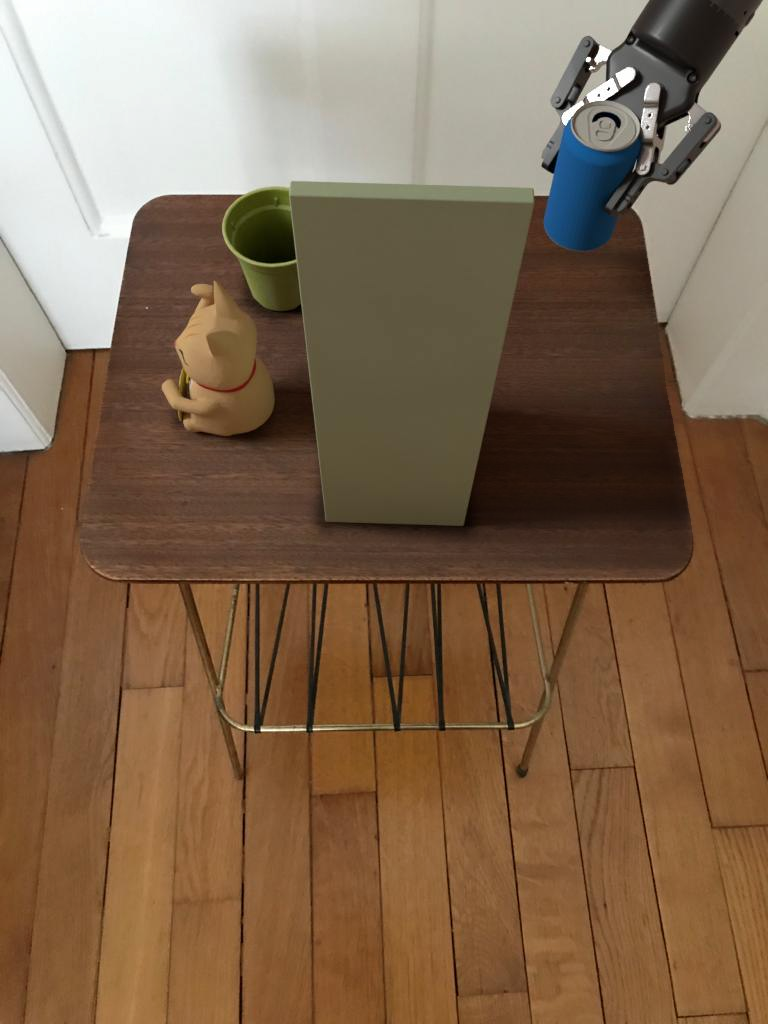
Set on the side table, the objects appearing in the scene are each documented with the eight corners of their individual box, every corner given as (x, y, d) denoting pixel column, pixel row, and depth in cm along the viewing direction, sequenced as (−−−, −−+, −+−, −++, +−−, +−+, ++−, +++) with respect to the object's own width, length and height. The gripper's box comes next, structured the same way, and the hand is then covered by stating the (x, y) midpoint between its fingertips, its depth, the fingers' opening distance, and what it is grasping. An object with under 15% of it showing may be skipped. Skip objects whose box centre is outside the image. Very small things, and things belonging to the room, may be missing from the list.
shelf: (462, 405, 83) (524, 31, 49) (463, 526, 78) (534, 202, 44) (333, 401, 83) (305, 25, 49) (325, 522, 78) (288, 195, 44)
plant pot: (329, 250, 91) (325, 185, 83) (330, 325, 87) (325, 265, 79) (237, 251, 91) (224, 186, 83) (233, 327, 87) (219, 266, 79)
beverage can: (618, 214, 84) (653, 106, 74) (603, 264, 82) (636, 161, 71) (552, 197, 85) (576, 89, 75) (534, 246, 83) (556, 142, 72)
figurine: (178, 364, 85) (141, 255, 71) (281, 368, 85) (263, 260, 71) (165, 443, 81) (124, 344, 68) (273, 447, 81) (253, 348, 68)
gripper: (620, -59, 70) (499, 140, 77) (773, 30, 65) (631, 232, 72) (644, -23, 76) (531, 157, 83) (786, 60, 72) (654, 243, 79)
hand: (578, 191), depth 78 cm, fingers closed on beverage can, 6 cm apart
